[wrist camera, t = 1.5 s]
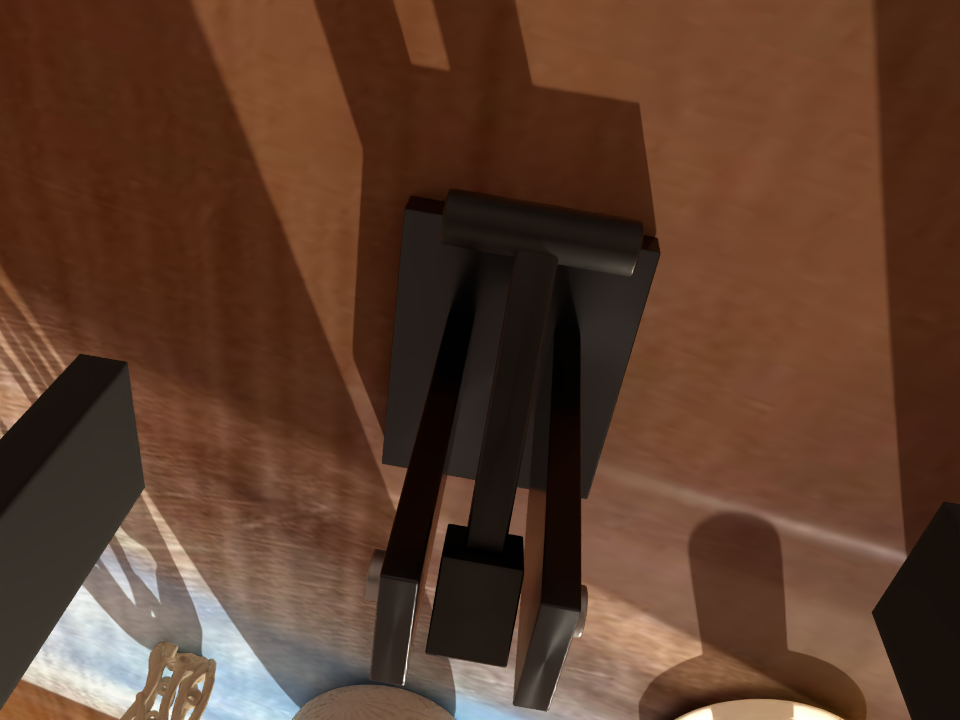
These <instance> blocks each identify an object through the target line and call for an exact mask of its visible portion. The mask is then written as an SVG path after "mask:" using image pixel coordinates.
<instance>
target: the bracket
mask: <svg viewBox="0 0 960 720" xmlns="http://www.w3.org/2000/svg"><path fill="white" fill-rule="evenodd" d="M444 205H445V202H444V201H438V200H432V199H426V198H420V197H414V196H410V198H409V200H408V203H407V205H406V207H405V209H404V219H403V231H402V242H401V253H400V264H399V276H398V287H397V298H396V309H395V321H394V332H393V343H392V354H391V366H390V377H389V388H388V399H387V411H386V422H385V433H384V444H383V456H382V464H387V465H392V466H398V467H404V468H408V469H407V473H406V477H405V481H404V484H403V488H402V492H401V496H400V500H399V503H398V507H397V511H396V515H395V519H394V522H393V526H392V530H391V534H390V538H389V541H388V545H387V549H386V551H385V550H379V549H375V550H374V552H373V554H372V557H371V561H370V564H369V569H368V574H367V579H366V585H365V593H364V597H365V600H367V601H372V602H377V606H376V617H375V627H374V637H373V648H372V658H371V668H370V680H373V681H378V682H384V683H390V684H395V685H401V686H403V685H405V683H406V678H407V673H408V668H409V663H410V658H411V653H412V648H413V643H414V638H415V633H416V628H417V623H418V618H419V613H420V608H421V603H422V598H423V593H424V588H425V583H426V578H427V573H428V568H429V563H430V558H431V553H432V548H433V543H434V538H435V533H436V528H437V523H438V518H439V513H440V508H441V504H442V499H443V494H444V489H445V484H446V479H447V475H450V476H456V477H462V478H467V479H473V480H476V474H477V469H478V463H479V457H480V451H481V446H482V440H483V434H484V429H485V423H486V417H487V411H488V406H489V400H490V394H491V388H492V383H493V377H494V371H495V366H496V360H497V354H498V348H499V343H500V337H501V331H502V325H503V320H504V314H505V308H506V303H507V297H508V291H509V285H510V280H511V274H512V268H513V262H514V257H512V256H506V255H501V254H495V253H489V252H483V251H477V250H471V249H465V248H460V247H454V246H448V245H443V244H442V243H441V241H440V232H441V223H442V216H443V210H444ZM660 254H661V253H660V248H659V242H658V238H654V237H649V236H643V242H642V248H641V253H640V257H639V261H638V264H637V267H636V269H635V271H634V273H633V275H632V276H623V275H617V274H611V273H606V272H600V271H594V270H588V269H582V268H576V267H571V266H565V265H559V264H558V266H557V272H556V277H555V282H554V288H553V293H552V299H551V304H550V310H549V315H548V320H547V326H546V331H545V337H544V342H543V348H542V353H541V358H540V364H539V369H538V375H537V380H536V386H535V391H534V396H533V402H532V407H531V413H530V418H529V424H528V429H527V434H526V440H525V445H524V451H523V456H522V462H521V467H520V472H519V478H518V483H517V487H519V488H525V489H529V496H528V509H527V522H526V535H525V549H524V571H525V573H524V578H523V583H522V589H521V602H520V615H519V628H518V642H517V655H516V668H515V682H514V695H513V705H514V706H518V707H524V708H530V709H536V710H541V711H548V710H549V708H550V704H551V701H552V698H553V695H554V692H555V689H556V686H557V683H558V680H559V677H560V674H561V671H562V668H563V665H564V662H565V659H566V656H567V653H568V650H569V647H570V644H571V641H572V638H573V637H580V636H581V634H582V632H583V629H584V625H585V620H586V614H587V605H588V592H587V587H586V586H585V585H581V498H583V499H587V498H588V495H589V492H590V488H591V485H592V482H593V478H594V475H595V472H596V468H597V465H598V461H599V458H600V455H601V451H602V448H603V445H604V441H605V438H606V435H607V431H608V428H609V425H610V421H611V418H612V415H613V411H614V408H615V404H616V401H617V398H618V394H619V391H620V388H621V384H622V381H623V378H624V374H625V371H626V368H627V364H628V361H629V358H630V354H631V351H632V347H633V344H634V341H635V337H636V334H637V331H638V327H639V324H640V321H641V317H642V314H643V311H644V307H645V304H646V300H647V297H648V294H649V290H650V287H651V284H652V280H653V277H654V274H655V270H656V267H657V264H658V260H659V257H660Z"/></svg>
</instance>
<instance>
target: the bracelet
mask: <svg viewBox="0 0 960 720" xmlns="http://www.w3.org/2000/svg"><path fill="white" fill-rule="evenodd" d="M177 650H178V646H176V645H174V644H171V643H168V642H160V643H159V644H157V645H156V646H155V647H154V649H153V650H152V652H151V653H150V657H149V671H148V677H147V681H146V686H145V687H144V689H143V691H142V692H139V693H138V694H137V695H136V701H135V702H134V703H133V704H132V705H131V707H130V708H129V709H128V710H127V712H126V713H125V714H124V715H123V716H122V718H121V719H120V720H168V715H169V709H170V707H171V706H172V704H173V701H174V698H175V694H176V689H177V687H178V685H179V684H180V685H179V691H178V695H177V697H176V700H175V704H174V707H173V711H172V716H171V720H184V718H185V716H186V714H187V713H188V711H189V710H190V709H194V708H195V709H194V711H193V713H192V714H191V716H190V718H189V720H200V718H201V716H202V714H203V713H204V711H205V709H206V706H207V703H208V701H209V698H210V695H211V692H212V690H213V685H214V680H215V671H216V662H215V661H214V660H213V659H209V660H207V658H205V657H203V656H200V657H199V656H196V655H195V654H193V653H176V652H177ZM163 655H165V656H164V657H163ZM166 666H167V668H168V669H169V670H170V671H173V672H174V673H173V675H172V677H171V678H170V677H163V678H162V674H163V671H164V668H165V667H166ZM204 680H205V681H204ZM202 681H204V686H203V690H202V693H201V692H200V690H198V686H197V683H201V682H202ZM163 686H165V687H166V688H165V687H163ZM158 694H160V695H161V696H163V697H162V701H161V704H160V709H159V712H158V711H155V710H153V711H150V710H151V708H152V706H153V704H154V702H155V700H156V698H157V696H158ZM135 716H136V717H135ZM152 716H153V717H154V718H151V717H152ZM134 717H135V718H134Z"/></svg>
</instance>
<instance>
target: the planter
mask: <svg viewBox="0 0 960 720" xmlns="http://www.w3.org/2000/svg"><path fill="white" fill-rule="evenodd" d="M292 720H456V719H455V718H454V717H453V716H452V715H451V714H450V713H449V712H447V711H446V710H445V709H444V708H442V707H441V706H439V705H438V704H436V703H434V702H433V701H431V700H429V699H427V698H425V697H423V696H420V695H418V694H415V693H413V692H410V691H407V690H403V689H399V688H395V687H390V686H382V685H352V686H346V687H341V688H337V689H333V690H331V691H328V692H325V693H323V694H321V695H319V696H317V697H315V698H314V699H312V700H311V701H309V702H308V703H306V704H305V705H304V706H303V707H302V708H301V709H300V710H299V711H298V712H297V714H296V715H295V716H294V717H293V719H292Z"/></svg>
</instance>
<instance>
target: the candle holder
mask: <svg viewBox="0 0 960 720" xmlns="http://www.w3.org/2000/svg"><path fill="white" fill-rule="evenodd" d="M675 720H844V719H842V718H840V717H839V716H837V715H835V714H833V713H831V712H828V711H826V710H823V709H820V708H817V707H814V706H811V705H807V704H803V703H798V702H792V701H786V700H776V699H743V700H734V701H727V702H721V703H716V704H712V705H708V706H705V707H702V708H699V709H696V710H693V711H691V712H688V713H686V714H684V715H682V716H680V717H678V718H677V719H675Z"/></svg>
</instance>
